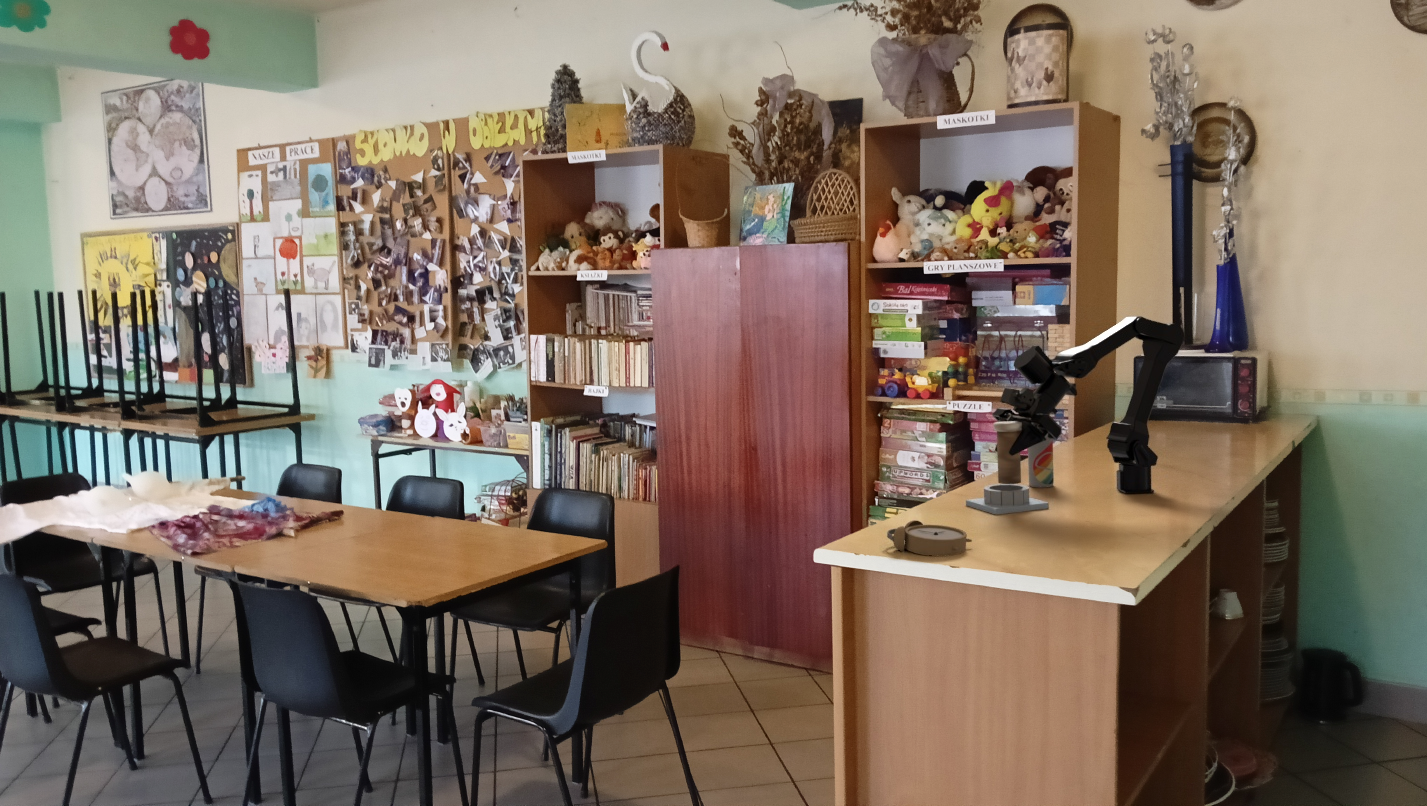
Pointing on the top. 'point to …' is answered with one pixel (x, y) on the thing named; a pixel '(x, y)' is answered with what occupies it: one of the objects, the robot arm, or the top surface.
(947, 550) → the alarm clock
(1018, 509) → the collar socket
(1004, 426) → the walnut peg
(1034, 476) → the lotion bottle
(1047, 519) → the top surface
